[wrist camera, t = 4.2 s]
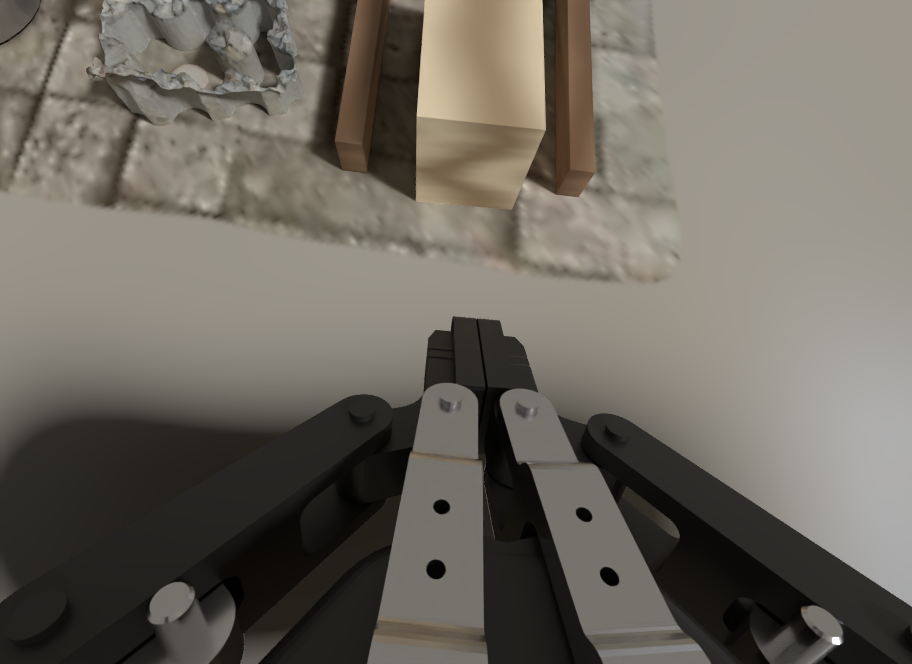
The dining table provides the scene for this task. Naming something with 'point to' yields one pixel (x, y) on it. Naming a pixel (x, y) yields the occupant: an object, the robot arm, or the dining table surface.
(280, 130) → the dining table surface
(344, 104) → the wooden tray frame
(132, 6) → the egg carton
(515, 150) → the maple block
